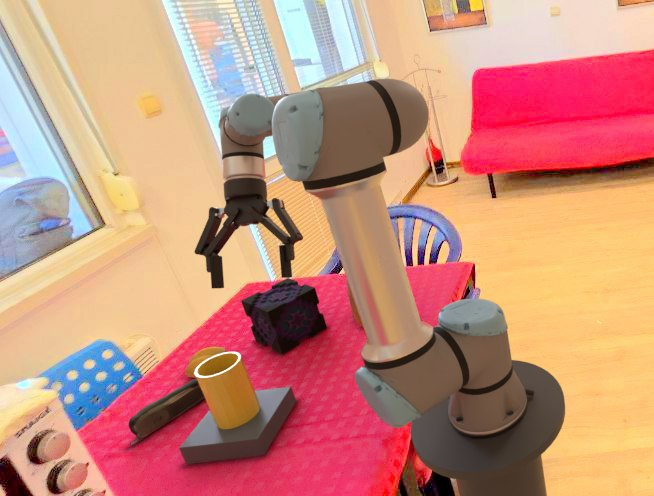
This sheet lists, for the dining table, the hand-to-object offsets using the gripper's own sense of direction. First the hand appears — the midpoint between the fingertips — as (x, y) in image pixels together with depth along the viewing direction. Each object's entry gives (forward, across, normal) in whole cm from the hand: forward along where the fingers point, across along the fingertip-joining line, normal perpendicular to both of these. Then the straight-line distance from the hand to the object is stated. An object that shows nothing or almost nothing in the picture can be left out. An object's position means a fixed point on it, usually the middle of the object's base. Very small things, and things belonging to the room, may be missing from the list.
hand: (252, 283), depth 105 cm
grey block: (+28, +4, -1) cm, 29 cm away
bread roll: (+16, +23, -22) cm, 36 cm away
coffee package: (+10, -11, -35) cm, 38 cm away
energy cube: (+12, +8, -30) cm, 33 cm away
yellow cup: (+25, +4, +1) cm, 25 cm away
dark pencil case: (+25, +22, -7) cm, 34 cm away
